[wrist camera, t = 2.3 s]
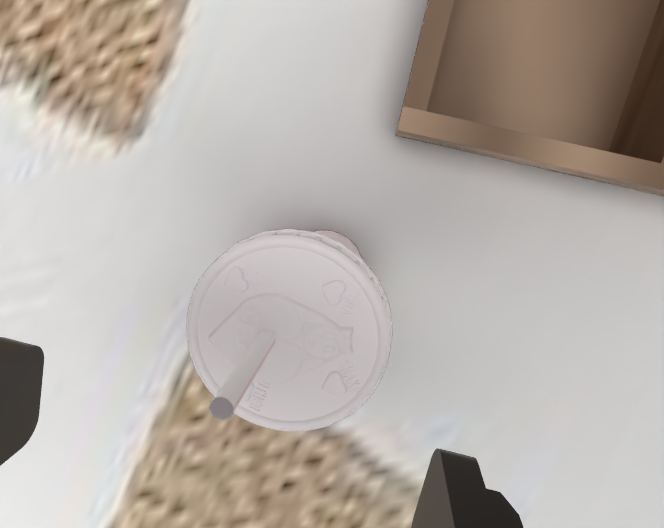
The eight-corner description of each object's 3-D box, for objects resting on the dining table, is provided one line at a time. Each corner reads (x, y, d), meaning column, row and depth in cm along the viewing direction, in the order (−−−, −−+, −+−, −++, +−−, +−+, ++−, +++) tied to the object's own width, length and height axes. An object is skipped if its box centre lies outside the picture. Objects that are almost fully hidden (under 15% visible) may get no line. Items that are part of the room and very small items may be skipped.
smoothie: (257, 202, 24) (90, 264, 11) (392, 201, 24) (397, 267, 10) (263, 329, 26) (122, 527, 12) (390, 331, 25) (393, 545, 11)
